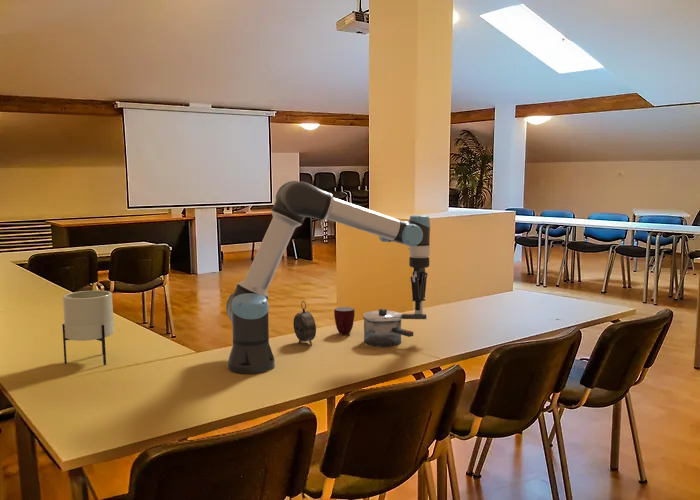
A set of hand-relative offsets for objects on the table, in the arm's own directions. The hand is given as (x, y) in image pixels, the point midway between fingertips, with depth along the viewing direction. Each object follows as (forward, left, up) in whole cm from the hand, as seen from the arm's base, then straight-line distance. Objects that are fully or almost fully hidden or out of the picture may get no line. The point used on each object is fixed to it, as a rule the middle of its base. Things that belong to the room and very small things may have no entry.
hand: (418, 317), depth 232 cm
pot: (-12, +2, -9) cm, 15 cm away
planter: (-107, +47, -9) cm, 118 cm away
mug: (-17, +24, -9) cm, 31 cm away
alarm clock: (-37, +22, -9) cm, 44 cm away
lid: (-9, +4, 0) cm, 10 cm away
